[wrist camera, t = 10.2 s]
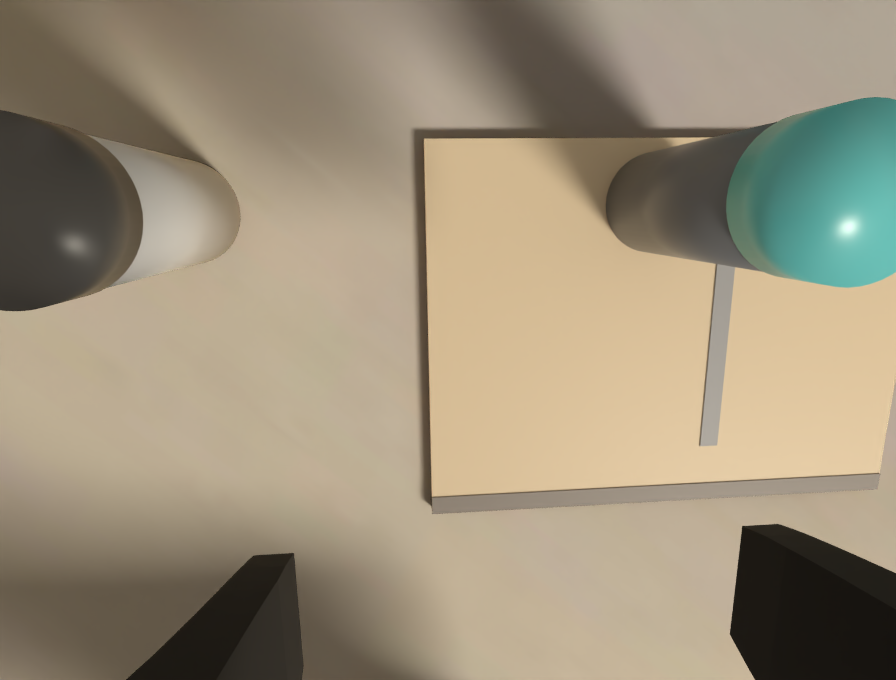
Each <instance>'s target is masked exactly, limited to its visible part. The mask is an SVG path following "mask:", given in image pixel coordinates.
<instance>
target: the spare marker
mask: <svg viewBox="0 0 896 680" xmlns="http://www.w3.org/2000/svg"><path fill="white" fill-rule="evenodd" d="M239 226H240V207H239V203H238V200H237V197H236V195H235V192H234V191H233V189H232V187H231V186H230V184H229V183H228V182H227V180H226V179H225V178H224V177H223V176H222V175H221V174H219V173H218V172H217V171H216V170H214V169H212V168H211V167H209V166H207V165H205V164H202V163H199V162H196V161H192V160H188V159H184V158H180V157H176V156H172V155H168V154H164V153H160V152H156V151H152V150H148V149H144V148H140V147H136V146H131V145H127V144H123V143H119V142H115V141H111V140H107V139H103V138H99V137H95V136H91V135H87V134H84V133H82V132H79V131H77V130H75V129H72V128H69V127H66V126H63V125H59V124H55V123H51V122H47V121H43V120H39V119H35V118H31V117H27V116H23V115H20V114H16V113H12V112H7V111H2V110H0V310H3V311H26V310H33V309H38V308H43V307H46V306H50V305H54V304H58V303H61V302H65V301H69V300H73V299H76V298H80V297H84V296H88V295H91V294H94V293H97V292H99V291H101V290H103V289H105V288H108V287H112V286H116V285H119V284H123V283H127V282H131V281H135V280H139V279H143V278H147V277H150V276H154V275H158V274H162V273H166V272H170V271H174V270H178V269H181V268H185V267H189V266H193V265H197V264H201V263H205V262H208V261H211V260H214V259H215V258H217V257H219V256H221V255H222V254H223V253H225V252H226V251H227V250H228V249H229V247H230V246H231V245H232V244H233V242H234V240H235V238H236V236H237V234H238V231H239Z"/></svg>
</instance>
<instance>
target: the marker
mask: <svg viewBox="0 0 896 680" xmlns="http://www.w3.org/2000/svg"><path fill="white" fill-rule="evenodd" d="M606 214H607V219H608V223H609V225H610V227H611V230H612V231H613V233H614V234H615V236H616V237H617V238H618V239H619V240H620V241H621V242H622V243H623V244H625V245H626V246H628V247H630V248H632V249H634V250H637V251H641V252H647V253H653V254H659V255H665V256H671V257H677V258H683V259H689V260H695V261H701V262H707V263H713V264H719V265H725V266H731V267H737V268H743V269H749V270H755V271H761V272H765V273H767V274H770V275H773V276H776V277H782V278H787V279H793V280H799V281H805V282H810V283H816V284H822V285H828V286H833V287H844V288H850V287H860V286H864V285H869V284H872V283H875V282H878V281H880V280H883V279H885V278H886V277H888V276H890V275H892V274H894V273H895V272H896V100H894V99H890V98H880V97H873V98H863V99H858V100H854V101H849V102H845V103H841V104H837V105H833V106H829V107H825V108H821V109H817V110H813V111H809V112H805V113H800V114H796V115H793V116H790V117H787V118H785V119H782V120H780V121H778V122H775V123H771V124H766V125H762V126H758V127H754V128H750V129H745V130H741V131H737V132H733V133H729V134H724V135H720V136H716V137H712V138H708V139H703V140H699V141H695V142H691V143H687V144H682V145H678V146H674V147H670V148H666V149H661V150H657V151H653V152H649V153H645V154H642V155H639V156H637V157H635V158H633V159H631V160H630V161H629V162H627V163H626V164H625V165H624V166H623V167H622V168H621V169H620V170H619V171H618V172H617V174H616V175H615V177H614V178H613V180H612V182H611V184H610V187H609V189H608V193H607V197H606Z"/></svg>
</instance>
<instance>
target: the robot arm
mask: <svg viewBox="0 0 896 680" xmlns="http://www.w3.org/2000/svg"><path fill="white" fill-rule="evenodd" d="M730 635H731V637H732V639H733V641H734V643H735V644H736V646H737V648H738V650H739V652H740V654H741V655H742V657H743V659H744V661H745V663H746V665H747V666H748V668H749V670H750V672H751V673H752V675H753V677H754V679H755V680H896V573H894V572H892V571H889V570H887V569H885V568H883V567H880V566H878V565H876V564H874V563H872V562H869V561H867V560H865V559H863V558H860V557H858V556H856V555H854V554H851V553H849V552H847V551H845V550H842V549H840V548H838V547H835V546H833V545H831V544H828V543H826V542H824V541H821V540H819V539H817V538H814V537H812V536H809V535H807V534H804V533H802V532H799V531H797V530H794V529H791V528H788V527H785V526H782V525H779V524H772V525H755V526H742V534H741V543H740V552H739V560H738V569H737V577H736V586H735V595H734V603H733V612H732V621H731V629H730ZM302 673H303V655H302V644H301V632H300V620H299V608H298V596H297V585H296V573H295V561H294V553H288V554H272V555H255V556H253V557H252V558H250V559H249V560H248V561H247V562H246V563H245V564H244V565H243V566H242V567H241V568H240V569H239V570H238V571H237V572H236V573H235V574H234V575H233V576H232V577H231V578H230V579H229V580H228V581H227V582H226V583H225V584H224V585H223V586H222V588H221V589H220V590H219V591H218V592H217V593H216V594H215V595H214V596H213V597H212V598H211V599H210V600H209V601H208V602H207V603H206V604H205V605H204V606H203V607H202V608H201V609H200V610H199V611H198V612H197V613H196V614H195V615H194V616H193V617H192V618H191V619H190V620H189V621H188V622H187V623H186V624H185V625H184V626H183V627H182V628H181V629H180V630H179V631H178V632H177V633H176V634H175V635H174V636H173V637H172V638H171V639H170V640H168V641H167V642H166V643H165V644H164V645H163V646H162V647H161V648H160V649H159V650H158V651H157V652H156V653H155V654H154V655H153V656H152V657H151V658H150V659H149V660H148V661H146V662H145V663H144V664H143V665H142V666H141V667H140V668H139V669H138V670H136V671H135V672H134V673H133V674H132V675H131V676H130V677H129V678H128V679H126V680H302Z"/></svg>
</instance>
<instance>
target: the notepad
mask: <svg viewBox="0 0 896 680" xmlns="http://www.w3.org/2000/svg"><path fill="white" fill-rule="evenodd" d="M708 138H712V137H702V138H459V139H424V183H425V227H426V272H427V317H428V362H429V407H430V451H431V496H432V514H443V513H461V512H479V511H497V510H515V509H533V508H551V507H569V506H587V505H605V504H623V503H641V502H658V501H676V500H694V499H712V498H730V497H748V496H766V495H784V494H802V493H820V492H838V491H856V490H874V489H878V483H879V478H880V474H879V472H880V466H881V460H882V454H883V449H884V443H885V437H886V431H887V425H888V420H889V414H890V408H891V402H892V396H893V391H894V385H895V379H896V272H895V273H894V274H892V275H890V276H888V277H886V278H885V279H883V280H880V281H878V282H875V283H872V284H869V285H864V286H860V287H850V288H844V287H833V286H828V285H822V284H816V283H810V282H805V281H799V280H793V279H787V278H782V277H776V276H773V275H770V274H767V273H765V272H761V271H755V270H749V269H743V268H737V267H731V266H725V265H719V264H713V263H707V262H701V261H695V260H689V259H683V258H677V257H671V256H665V255H659V254H653V253H647V252H641V251H637V250H634V249H632V248H630V247H628V246H626V245H625V244H623V243H622V242H621V241H620V240H619V239H618V238H617V237H616V236H615V234H614V233H613V231H612V230H611V227H610V225H609V223H608V219H607V214H606V197H607V193H608V189H609V187H610V184H611V182H612V180H613V178H614V177H615V175H616V174H617V172H618V171H619V170H620V169H621V168H622V167H623V166H624V165H625V164H626V163H627V162H629V161H630V160H631V159H633V158H635V157H637V156H639V155H642V154H645V153H649V152H653V151H657V150H661V149H666V148H670V147H674V146H678V145H682V144H687V143H691V142H695V141H699V140H703V139H708Z"/></svg>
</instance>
